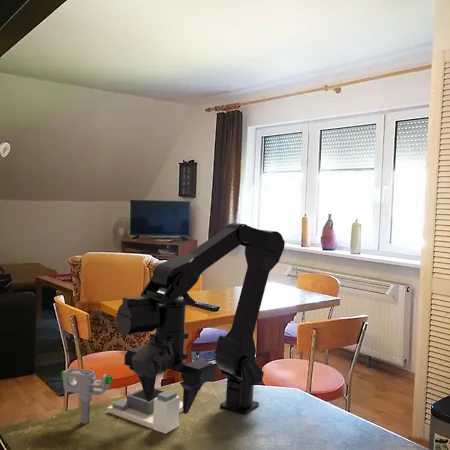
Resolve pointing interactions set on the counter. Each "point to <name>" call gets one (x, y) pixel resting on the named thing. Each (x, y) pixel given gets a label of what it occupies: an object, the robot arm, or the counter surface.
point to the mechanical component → (84, 387)
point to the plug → (166, 411)
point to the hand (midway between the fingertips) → (167, 407)
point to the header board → (137, 408)
